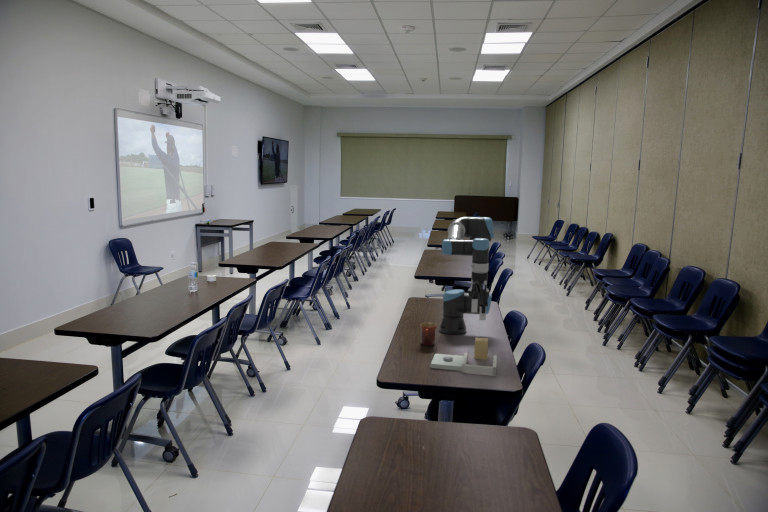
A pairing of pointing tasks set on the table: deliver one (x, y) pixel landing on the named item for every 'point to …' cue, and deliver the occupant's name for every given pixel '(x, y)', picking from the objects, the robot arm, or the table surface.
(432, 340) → the mug
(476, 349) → the chute block
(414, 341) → the table surface
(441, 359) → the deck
